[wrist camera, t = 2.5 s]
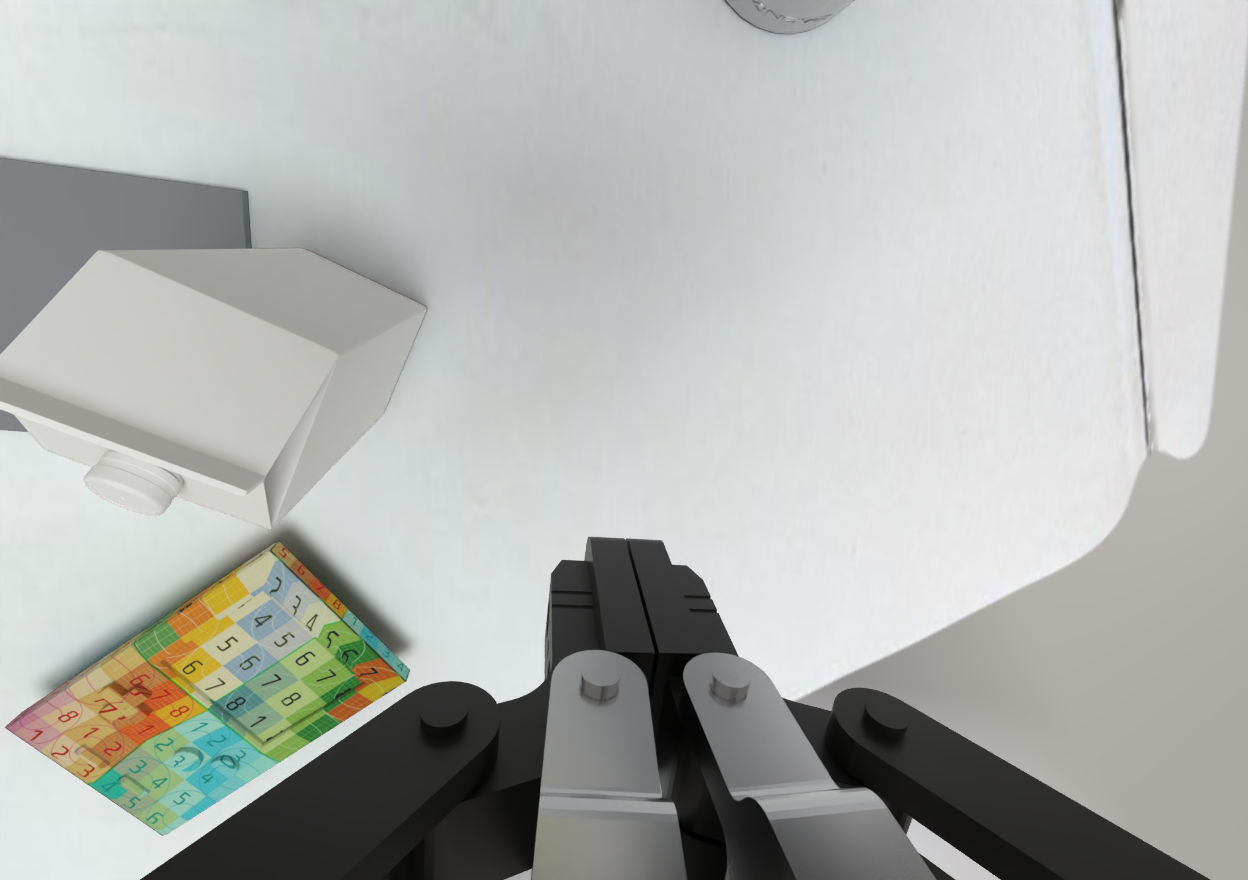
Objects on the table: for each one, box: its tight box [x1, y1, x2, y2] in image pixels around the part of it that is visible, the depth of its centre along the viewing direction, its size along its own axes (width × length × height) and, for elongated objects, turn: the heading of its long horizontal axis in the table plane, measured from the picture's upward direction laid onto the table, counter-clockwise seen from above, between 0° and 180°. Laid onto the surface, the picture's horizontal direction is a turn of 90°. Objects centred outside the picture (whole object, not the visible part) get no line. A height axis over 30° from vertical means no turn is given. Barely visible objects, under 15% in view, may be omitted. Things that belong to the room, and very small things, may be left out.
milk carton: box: [0, 248, 427, 529], centre depth 24 cm, size 7×7×19 cm
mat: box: [0, 158, 251, 432], centre depth 30 cm, size 14×20×1 cm
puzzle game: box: [5, 541, 410, 836], centre depth 37 cm, size 12×5×20 cm
